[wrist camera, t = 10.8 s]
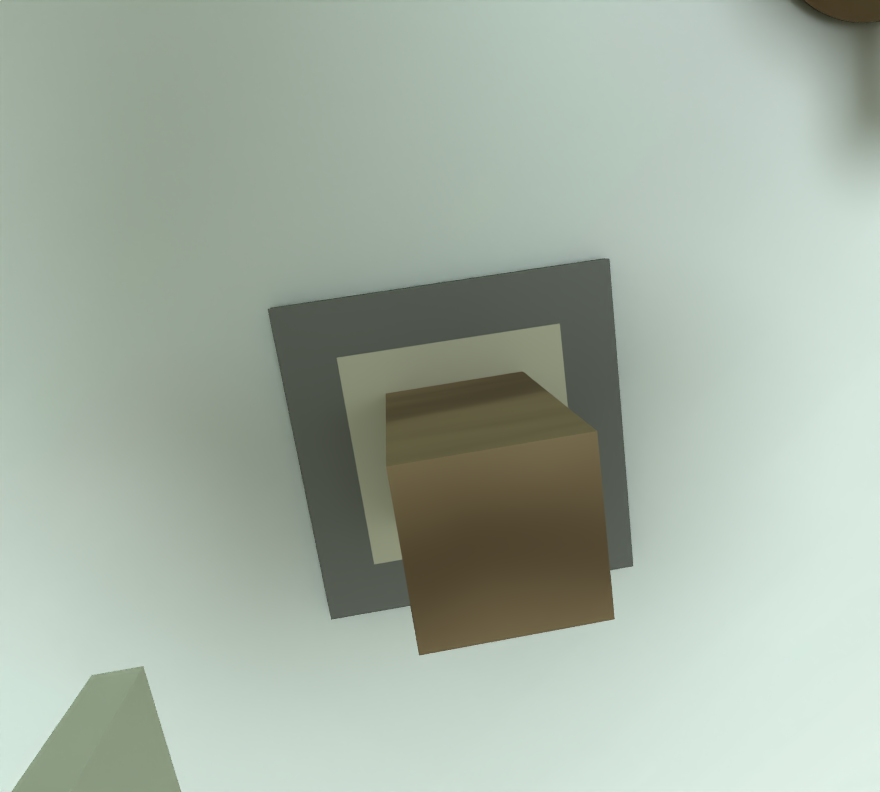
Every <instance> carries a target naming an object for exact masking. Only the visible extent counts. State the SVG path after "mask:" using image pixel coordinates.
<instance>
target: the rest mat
mask: <svg viewBox="0 0 880 792" xmlns="http://www.w3.org/2000/svg"><path fill="white" fill-rule="evenodd" d="M268 312H269V317H270V322H271V327H272V332H273V337H274V341H275V346H276V351H277V356H278V361H279V366H280V371H281V376H282V381H283V386H284V390H285V395H286V400H287V405H288V410H289V415H290V420H291V425H292V430H293V435H294V439H295V444H296V449H297V454H298V459H299V464H300V469H301V474H302V479H303V483H304V488H305V493H306V498H307V503H308V508H309V513H310V518H311V523H312V528H313V532H314V537H315V542H316V547H317V552H318V557H319V562H320V567H321V572H322V577H323V581H324V586H325V591H326V596H327V601H328V606H329V611H330V616H331V619H337V618H343V617H348V616H354V615H360V614H365V613H371V612H377V611H382V610H388V609H394V608H399V607H405V606H410V600H409V594H408V589H407V583H406V577H405V572H404V566H403V560H402V555H401V549H400V543H399V537H398V532H397V526H396V520H395V515H394V509H393V503H392V498H391V492H390V486H389V480H388V475H387V469H386V393H392V392H398V391H404V390H411V389H417V388H423V387H429V386H435V385H441V384H448V383H454V382H460V381H466V380H472V379H479V378H485V377H491V376H497V375H503V374H509V373H516V372H522V371H523V372H524V373H526V374H527V375H528V376H529V377H530V378H532V379H533V380H534V381H535V382H537V383H538V384H539V385H540V386H542V387H543V388H544V389H545V390H547V391H548V392H549V393H550V394H552V395H553V396H554V397H555V398H557V399H558V400H559V401H560V402H562V403H563V404H564V405H565V406H567V407H568V408H569V409H570V410H572V411H573V412H574V413H575V414H577V415H578V416H579V417H580V418H582V419H583V420H584V421H585V422H587V423H588V424H589V425H590V426H592V427H593V428H594V429H595V430H597V434H598V444H599V455H600V466H601V477H602V488H603V499H604V510H605V521H606V532H607V542H608V553H609V564H610V570H614V569H620V568H625V567H631V566H633V557H632V545H631V532H630V519H629V506H628V493H627V480H626V467H625V454H624V441H623V429H622V416H621V403H620V390H619V377H618V364H617V351H616V338H615V325H614V312H613V300H612V287H611V274H610V261H609V259H598V260H591V261H584V262H577V263H571V264H564V265H557V266H551V267H544V268H537V269H530V270H524V271H517V272H510V273H503V274H497V275H490V276H483V277H476V278H470V279H463V280H456V281H450V282H443V283H436V284H429V285H423V286H416V287H409V288H402V289H396V290H389V291H382V292H375V293H369V294H362V295H355V296H348V297H342V298H335V299H328V300H322V301H315V302H308V303H301V304H295V305H288V306H281V307H274V308H270V309H268Z"/></svg>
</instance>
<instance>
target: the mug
mask: <svg viewBox="0 0 880 792" xmlns="http://www.w3.org/2000/svg"><path fill="white" fill-rule="evenodd" d="M804 1H805V2H807V3H808V4H809V5H811V6H812V7H813V8H815V9H816V10H818V11H820V12H822V13H824V14H826V15H828V16H831V17H834V18H837V19H840V20H844V21H850V22H866V23H868V22H875V21H880V0H804Z"/></svg>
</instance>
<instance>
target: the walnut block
mask: <svg viewBox="0 0 880 792" xmlns="http://www.w3.org/2000/svg"><path fill="white" fill-rule="evenodd" d="M386 469H387V475H388V480H389V486H390V492H391V498H392V503H393V509H394V515H395V520H396V526H397V532H398V537H399V543H400V549H401V555H402V560H403V566H404V572H405V577H406V583H407V589H408V594H409V600H410V606H411V612H412V617H413V623H414V629H415V634H416V640H417V646H418V651H419V655H424V654H429V653H435V652H440V651H445V650H451V649H456V648H462V647H467V646H472V645H478V644H483V643H489V642H494V641H499V640H505V639H510V638H516V637H521V636H526V635H532V634H537V633H543V632H548V631H553V630H559V629H564V628H570V627H575V626H580V625H586V624H591V623H597V622H602V621H607V620H613V619H614V608H613V597H612V586H611V575H610V564H609V553H608V542H607V532H606V521H605V510H604V499H603V488H602V477H601V466H600V455H599V444H598V434H597V430H595V429H594V428H593V427H592V426H590V425H589V424H588V423H587V422H585V421H584V420H583V419H582V418H580V417H579V416H578V415H577V414H575V413H574V412H573V411H572V410H570V409H569V408H568V407H567V406H565V405H564V404H563V403H562V402H560V401H559V400H558V399H557V398H555V397H554V396H553V395H552V394H550V393H549V392H548V391H547V390H545V389H544V388H543V387H542V386H540V385H539V384H538V383H537V382H535V381H534V380H533V379H532V378H530V377H529V376H528V375H527V374H526V373H524V372H523V371H522V372H516V373H509V374H503V375H497V376H491V377H485V378H479V379H472V380H466V381H460V382H454V383H448V384H441V385H435V386H429V387H423V388H417V389H411V390H404V391H398V392H392V393H386Z"/></svg>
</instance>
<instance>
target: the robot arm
mask: <svg viewBox="0 0 880 792" xmlns="http://www.w3.org/2000/svg"><path fill="white" fill-rule="evenodd" d="M12 792H181V790H180V787H179V784H178V780H177V777H176V774H175V770H174V767H173V764H172V760H171V757H170V754H169V750H168V747H167V744H166V741H165V737H164V734H163V731H162V727H161V724H160V721H159V717H158V714H157V711H156V707H155V704H154V701H153V697H152V694H151V691H150V688H149V684H148V681H147V678H146V674H145V671H144V668H143V667H137V668H131V669H125V670H120V671H114V672H108V673H102V674H97V675H92V676H91V677H90V679H89V680H88V682H87V683H86V685H85V686H84V687H83V689H82V690H81V692H80V693H79V695H78V696H77V698H76V699H75V700H74V702H73V703H72V705H71V706H70V708H69V709H68V711H67V712H66V714H65V715H64V716H63V718H62V719H61V721H60V722H59V724H58V725H57V727H56V728H55V729H54V731H53V732H52V734H51V735H50V737H49V738H48V740H47V741H46V743H45V744H44V745H43V747H42V748H41V750H40V751H39V753H38V754H37V756H36V757H35V758H34V760H33V761H32V763H31V764H30V766H29V767H28V769H27V770H26V772H25V773H24V774H23V776H22V777H21V779H20V780H19V782H18V783H17V785H16V786H15V788H14V789H13V790H12Z"/></svg>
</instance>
